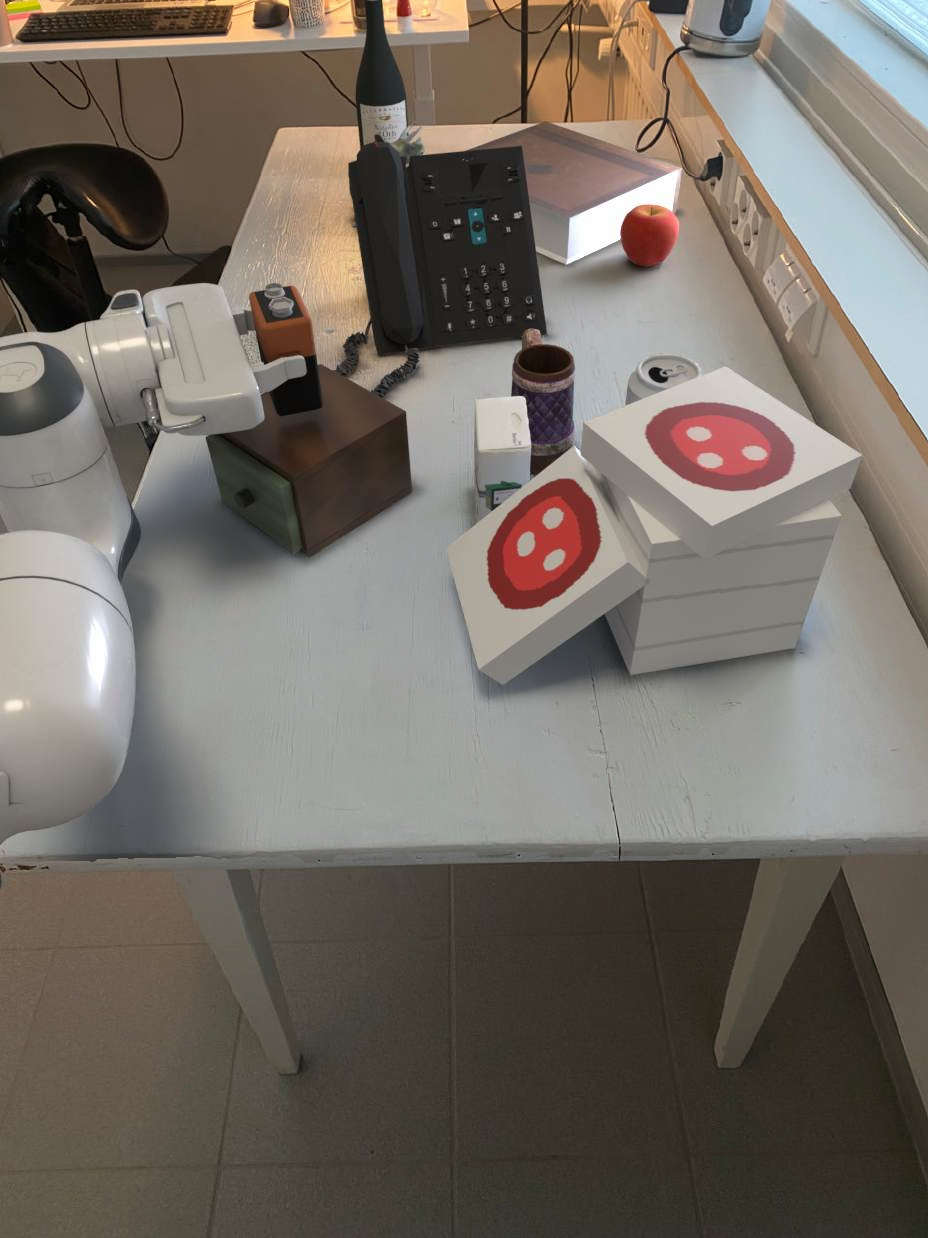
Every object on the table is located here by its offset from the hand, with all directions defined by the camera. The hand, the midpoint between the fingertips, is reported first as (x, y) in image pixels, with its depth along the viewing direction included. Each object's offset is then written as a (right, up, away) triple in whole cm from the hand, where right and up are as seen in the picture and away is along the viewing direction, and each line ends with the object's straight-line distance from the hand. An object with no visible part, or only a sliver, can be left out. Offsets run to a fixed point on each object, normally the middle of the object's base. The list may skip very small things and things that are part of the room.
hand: (294, 339), depth 83 cm
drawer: (-1, -13, +11) cm, 17 cm away
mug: (+23, -6, +18) cm, 30 cm away
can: (+35, -9, +15) cm, 39 cm away
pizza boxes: (+30, -25, +1) cm, 39 cm away
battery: (-1, -4, +4) cm, 6 cm away
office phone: (+11, +10, +35) cm, 38 cm away
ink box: (+19, -15, +10) cm, 26 cm away
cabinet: (0, -12, +13) cm, 18 cm away
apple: (+41, +25, +48) cm, 68 cm away
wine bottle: (+2, +49, +72) cm, 87 cm away
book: (+29, +38, +61) cm, 77 cm away
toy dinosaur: (+1, +36, +60) cm, 70 cm away
